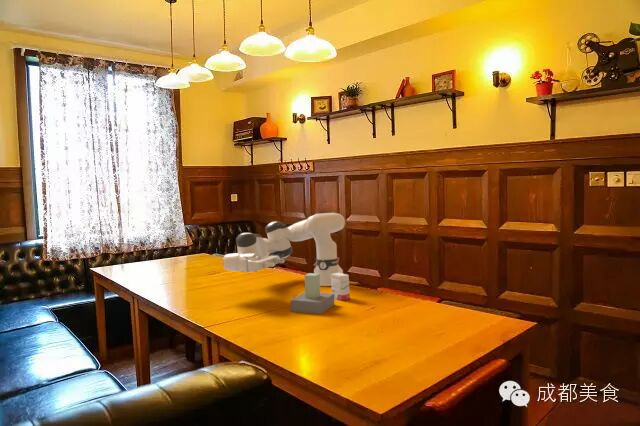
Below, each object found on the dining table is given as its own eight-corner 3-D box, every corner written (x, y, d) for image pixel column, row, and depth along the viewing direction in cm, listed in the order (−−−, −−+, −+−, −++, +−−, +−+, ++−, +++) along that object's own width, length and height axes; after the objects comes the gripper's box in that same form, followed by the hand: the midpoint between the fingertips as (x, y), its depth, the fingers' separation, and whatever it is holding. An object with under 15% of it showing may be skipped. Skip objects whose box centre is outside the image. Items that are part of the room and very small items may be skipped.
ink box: (350, 299, 210) (349, 274, 209) (341, 301, 207) (341, 276, 207) (339, 296, 217) (339, 272, 217) (331, 297, 215) (330, 273, 214)
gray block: (306, 302, 207) (306, 291, 207) (334, 304, 202) (334, 293, 202) (291, 311, 193) (290, 300, 192) (320, 314, 187) (320, 302, 187)
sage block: (309, 295, 200) (309, 273, 200) (320, 295, 198) (319, 273, 198) (305, 297, 196) (304, 275, 195) (315, 298, 194) (315, 275, 193)
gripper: (264, 265, 220) (289, 265, 215) (242, 273, 201) (269, 273, 196) (263, 252, 220) (288, 252, 215) (241, 259, 201) (268, 259, 196)
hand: (279, 262), depth 205 cm, fingers open, 8 cm apart
